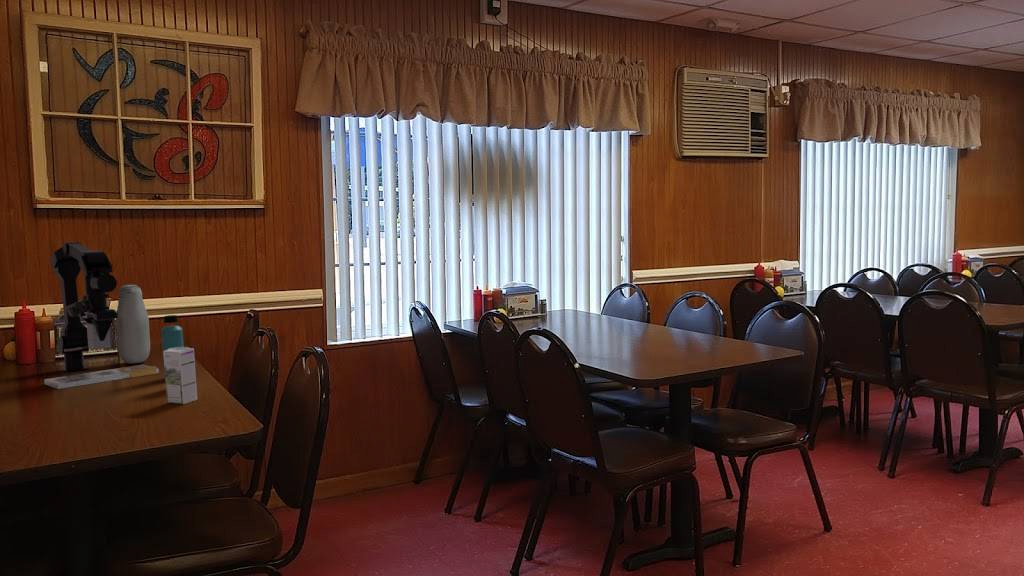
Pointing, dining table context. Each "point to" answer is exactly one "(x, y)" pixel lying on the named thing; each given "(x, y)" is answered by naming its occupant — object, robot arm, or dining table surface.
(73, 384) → the white flat frame
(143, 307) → the glass bottle
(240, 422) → the dining table surface
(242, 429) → the dining table surface
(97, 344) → the steel block
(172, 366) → the syrup box
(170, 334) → the beverage bottle
